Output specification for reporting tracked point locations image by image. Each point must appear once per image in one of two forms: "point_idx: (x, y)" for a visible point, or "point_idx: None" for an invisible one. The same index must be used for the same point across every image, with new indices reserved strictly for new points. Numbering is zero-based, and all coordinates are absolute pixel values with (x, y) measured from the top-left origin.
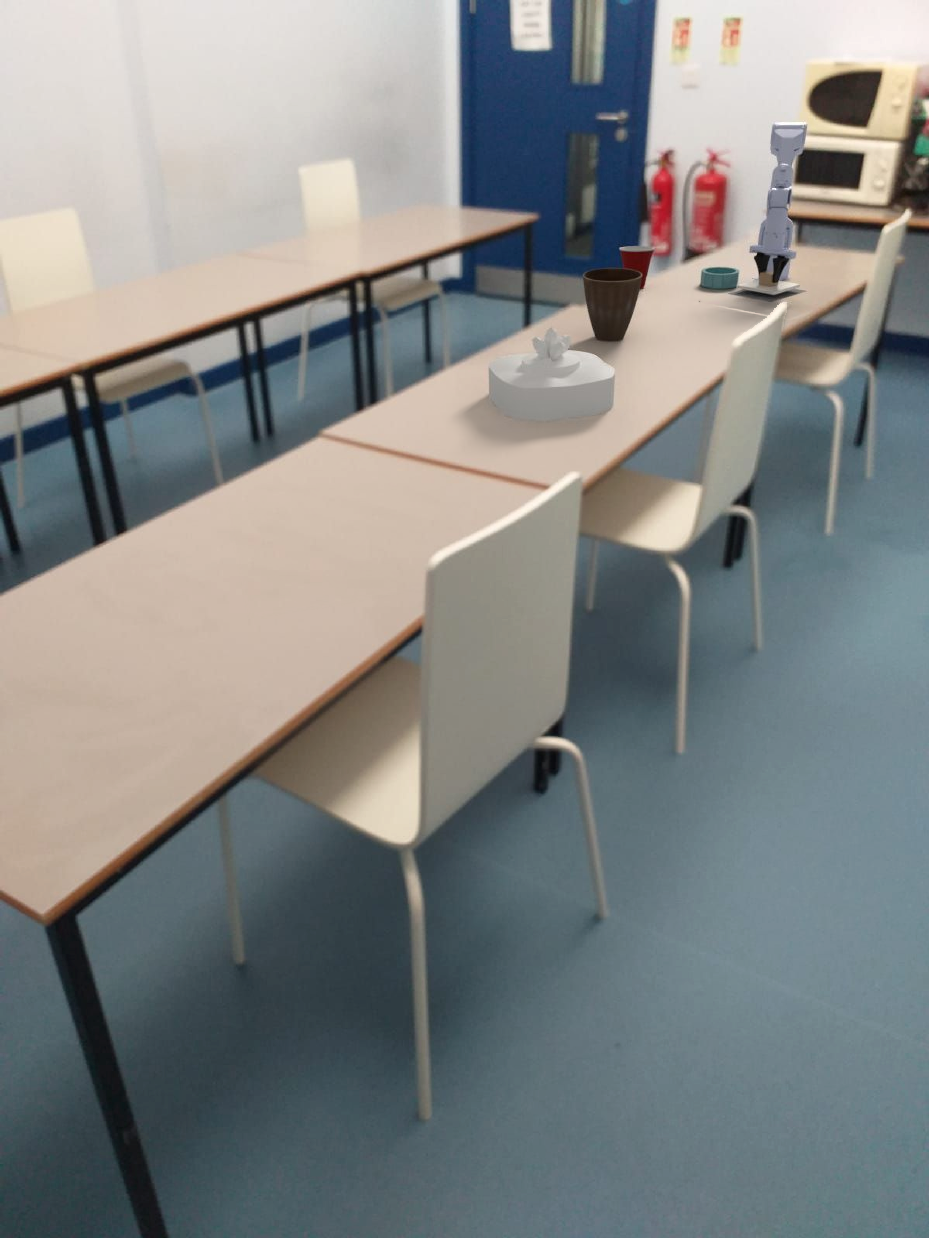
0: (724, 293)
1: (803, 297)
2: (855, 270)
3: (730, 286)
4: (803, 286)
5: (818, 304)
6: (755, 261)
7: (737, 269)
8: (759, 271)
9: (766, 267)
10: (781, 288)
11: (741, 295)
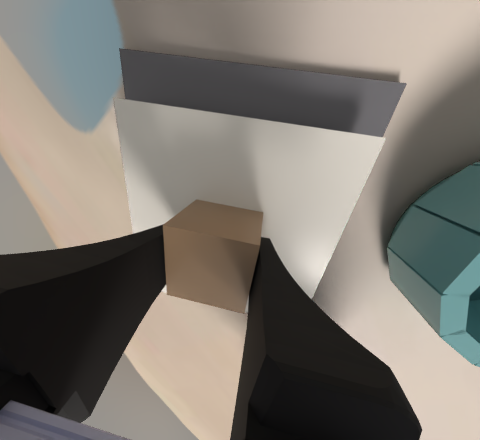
0: (429, 128)
1: (121, 231)
2: (194, 427)
3: (421, 204)
4: (198, 332)
5: (28, 167)
6: (339, 329)
7: (457, 350)
8: (272, 262)
9: (247, 323)
10: (140, 196)
11: (311, 90)
